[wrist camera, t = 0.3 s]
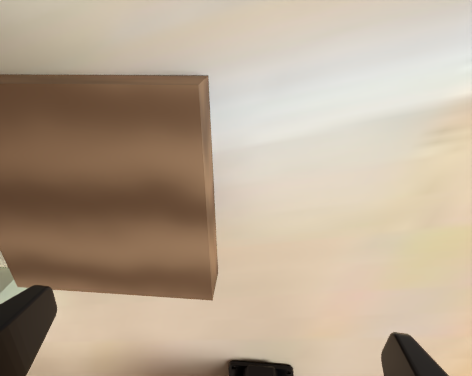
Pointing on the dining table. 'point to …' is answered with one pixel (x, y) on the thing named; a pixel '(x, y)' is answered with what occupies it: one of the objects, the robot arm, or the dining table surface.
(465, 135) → the dining table surface
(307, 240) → the dining table surface
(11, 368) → the robot arm
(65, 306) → the dining table surface
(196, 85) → the walnut board
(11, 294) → the sage cube
